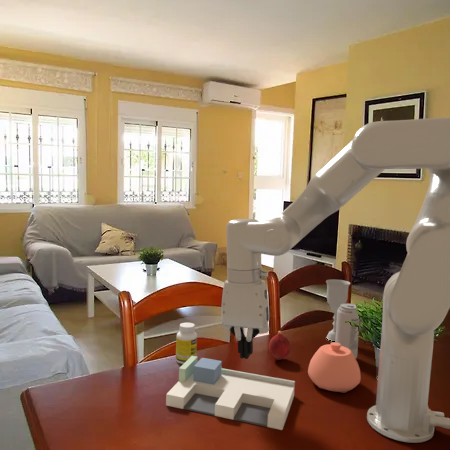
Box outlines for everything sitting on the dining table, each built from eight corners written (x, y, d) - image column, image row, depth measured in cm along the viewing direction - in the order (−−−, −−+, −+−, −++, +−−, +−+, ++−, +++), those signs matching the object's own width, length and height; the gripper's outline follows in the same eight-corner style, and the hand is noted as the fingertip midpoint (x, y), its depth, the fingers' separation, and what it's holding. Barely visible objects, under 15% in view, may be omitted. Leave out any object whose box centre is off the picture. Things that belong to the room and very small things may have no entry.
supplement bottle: (193, 366, 112) (194, 329, 111) (173, 363, 113) (173, 327, 112) (198, 357, 118) (199, 322, 116) (179, 355, 119) (180, 320, 118)
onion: (293, 359, 119) (294, 330, 118) (284, 366, 114) (285, 336, 113) (274, 353, 122) (275, 326, 121) (264, 360, 117) (265, 331, 116)
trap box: (294, 395, 99) (295, 372, 98) (282, 430, 85) (283, 403, 84) (191, 376, 106) (192, 355, 106) (166, 405, 93) (166, 380, 92)
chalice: (322, 341, 132) (326, 283, 130) (321, 334, 139) (325, 278, 137) (347, 344, 131) (351, 285, 129) (345, 336, 138) (349, 280, 135)
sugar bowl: (303, 390, 101) (305, 348, 100) (312, 366, 114) (315, 329, 113) (358, 401, 97) (361, 357, 96) (361, 375, 110) (364, 336, 109)
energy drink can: (341, 352, 125) (344, 301, 123) (360, 359, 120) (364, 306, 119) (330, 358, 120) (333, 305, 119) (350, 365, 116) (353, 310, 114)
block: (221, 375, 102) (221, 361, 102) (214, 384, 97) (214, 369, 97) (201, 371, 104) (201, 357, 103) (193, 380, 99) (193, 366, 98)
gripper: (281, 273, 97) (281, 353, 98) (217, 270, 101) (219, 347, 103) (274, 280, 89) (275, 367, 91) (206, 277, 94) (208, 359, 96)
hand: (245, 356), depth 97 cm, fingers closed
